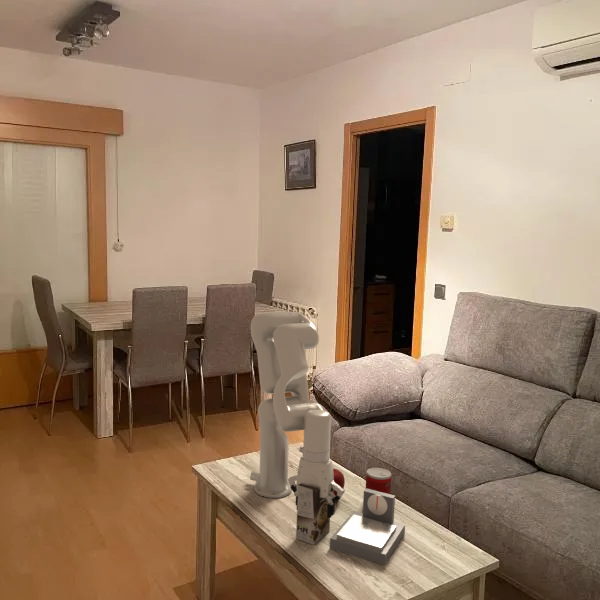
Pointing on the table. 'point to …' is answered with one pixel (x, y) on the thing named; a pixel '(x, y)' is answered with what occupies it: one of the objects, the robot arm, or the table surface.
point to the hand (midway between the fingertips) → (314, 512)
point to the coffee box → (311, 515)
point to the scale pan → (367, 532)
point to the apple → (338, 479)
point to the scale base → (380, 510)
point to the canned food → (378, 480)
